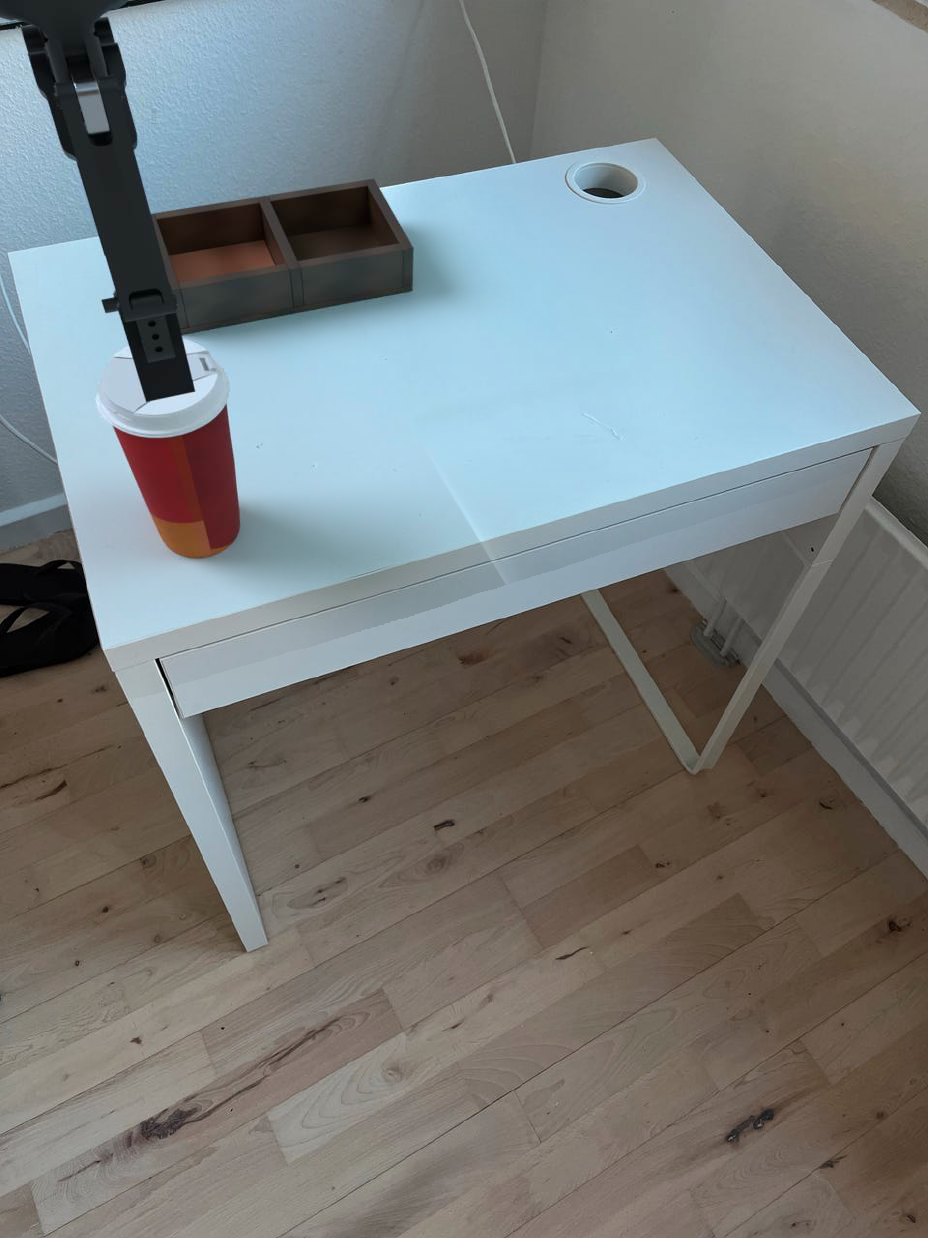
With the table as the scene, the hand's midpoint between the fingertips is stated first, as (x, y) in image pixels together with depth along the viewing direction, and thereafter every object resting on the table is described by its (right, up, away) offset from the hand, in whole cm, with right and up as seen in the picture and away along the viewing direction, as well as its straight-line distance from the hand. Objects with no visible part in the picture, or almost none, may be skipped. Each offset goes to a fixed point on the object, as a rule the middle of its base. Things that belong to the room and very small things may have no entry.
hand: (146, 316), depth 55 cm
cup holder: (+2, +15, +34) cm, 37 cm away
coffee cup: (-1, -11, +16) cm, 20 cm away
